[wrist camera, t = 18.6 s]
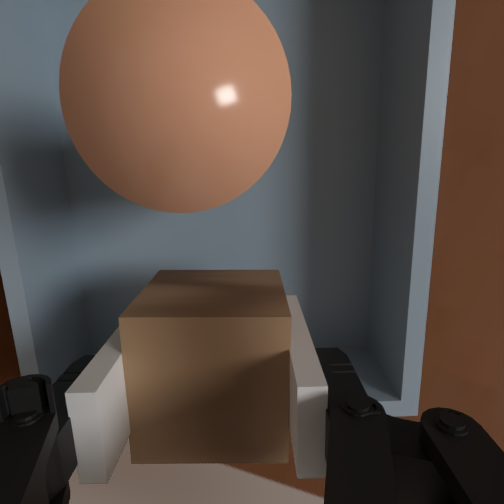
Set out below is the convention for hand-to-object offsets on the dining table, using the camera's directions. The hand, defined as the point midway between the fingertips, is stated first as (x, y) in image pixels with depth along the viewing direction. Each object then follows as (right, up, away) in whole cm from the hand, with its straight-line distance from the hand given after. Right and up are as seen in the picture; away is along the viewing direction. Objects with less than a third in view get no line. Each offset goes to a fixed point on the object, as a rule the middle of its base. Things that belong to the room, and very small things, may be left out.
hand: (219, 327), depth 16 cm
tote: (0, +7, +4) cm, 9 cm away
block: (0, 0, 0) cm, 0 cm away
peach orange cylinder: (0, +9, +3) cm, 10 cm away
